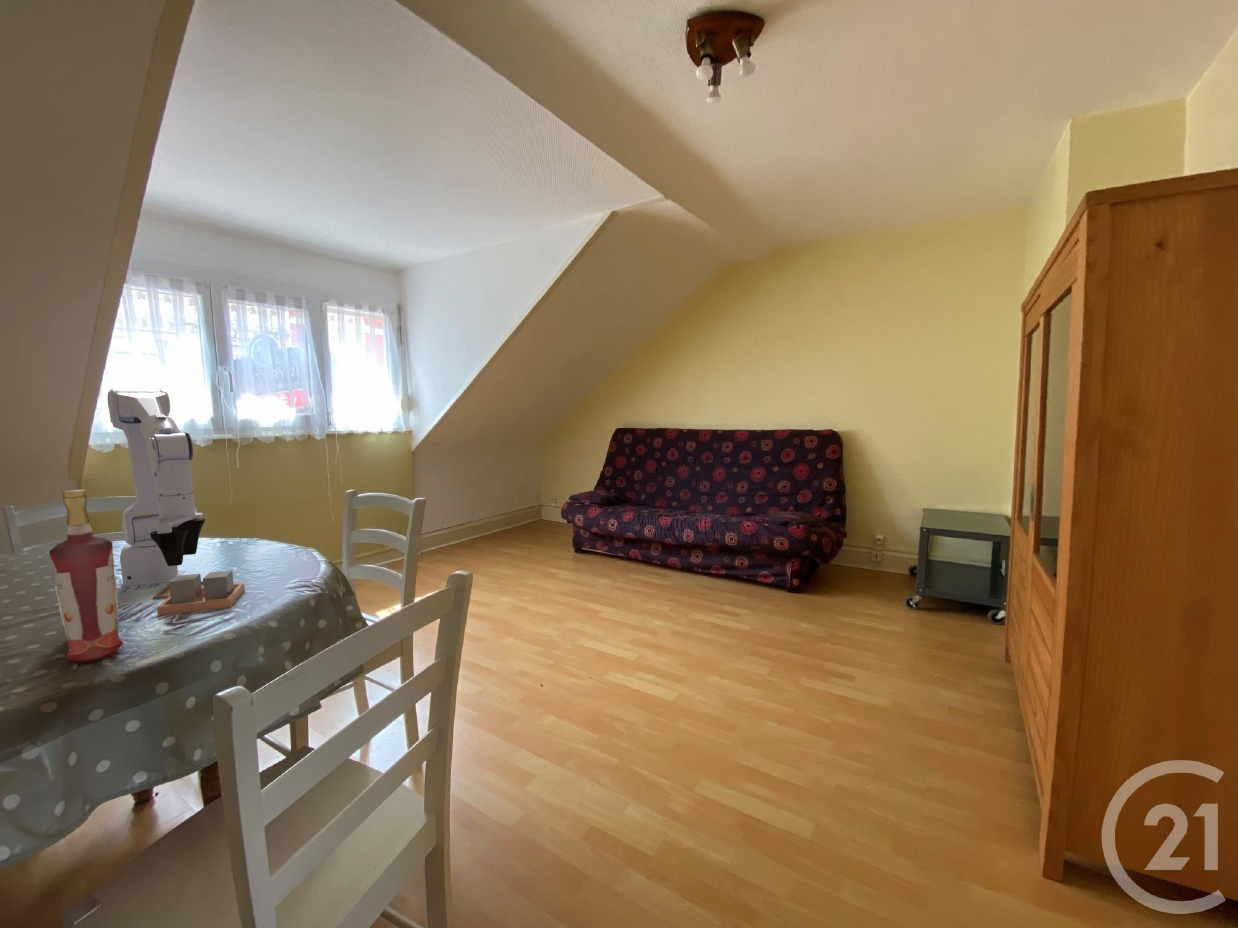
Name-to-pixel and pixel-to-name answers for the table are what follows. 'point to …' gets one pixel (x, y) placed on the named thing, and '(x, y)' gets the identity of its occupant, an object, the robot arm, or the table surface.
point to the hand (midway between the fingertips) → (182, 559)
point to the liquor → (86, 585)
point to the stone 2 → (218, 585)
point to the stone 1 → (186, 589)
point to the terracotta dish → (200, 603)
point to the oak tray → (165, 592)
